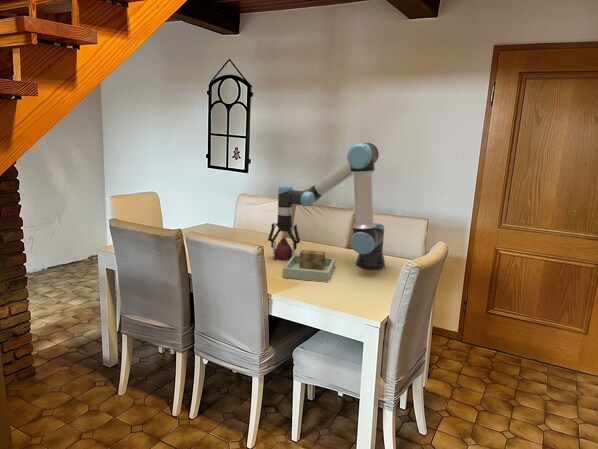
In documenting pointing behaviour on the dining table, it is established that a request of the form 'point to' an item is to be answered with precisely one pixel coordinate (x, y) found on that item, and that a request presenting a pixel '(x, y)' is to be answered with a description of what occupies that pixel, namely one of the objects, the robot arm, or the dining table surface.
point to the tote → (308, 270)
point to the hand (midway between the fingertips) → (283, 254)
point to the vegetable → (283, 250)
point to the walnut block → (312, 259)
